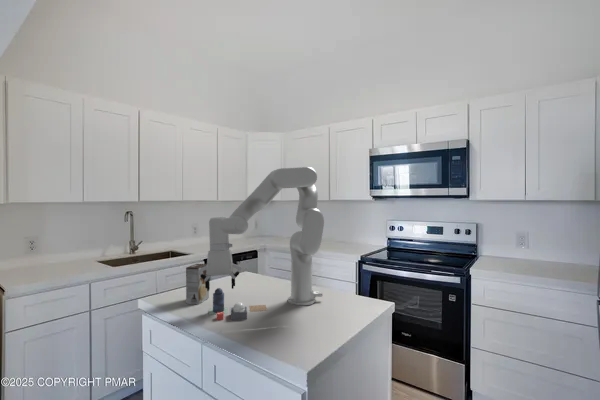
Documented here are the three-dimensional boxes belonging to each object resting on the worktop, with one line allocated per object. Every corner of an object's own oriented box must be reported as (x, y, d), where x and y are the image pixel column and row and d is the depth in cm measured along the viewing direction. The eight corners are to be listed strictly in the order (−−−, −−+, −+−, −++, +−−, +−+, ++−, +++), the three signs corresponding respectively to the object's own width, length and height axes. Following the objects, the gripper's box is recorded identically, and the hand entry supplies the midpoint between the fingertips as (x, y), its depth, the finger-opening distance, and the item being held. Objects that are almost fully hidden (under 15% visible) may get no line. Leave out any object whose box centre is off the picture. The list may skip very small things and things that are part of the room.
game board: (265, 305, 132) (265, 298, 132) (269, 318, 117) (269, 310, 117) (210, 309, 127) (210, 302, 127) (207, 323, 113) (207, 314, 113)
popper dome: (244, 313, 121) (244, 300, 121) (244, 317, 116) (244, 304, 116) (233, 314, 120) (233, 301, 120) (233, 318, 115) (233, 304, 115)
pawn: (224, 308, 127) (224, 286, 127) (223, 312, 122) (224, 289, 123) (213, 309, 126) (213, 287, 126) (212, 313, 121) (212, 290, 122)
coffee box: (196, 297, 143) (196, 263, 143) (209, 298, 142) (209, 263, 142) (185, 303, 134) (185, 267, 134) (198, 304, 133) (199, 267, 133)
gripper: (240, 244, 130) (241, 284, 130) (198, 247, 126) (199, 288, 126) (241, 247, 122) (242, 289, 123) (196, 250, 119) (197, 293, 119)
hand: (220, 289), depth 124 cm, fingers open, 9 cm apart
